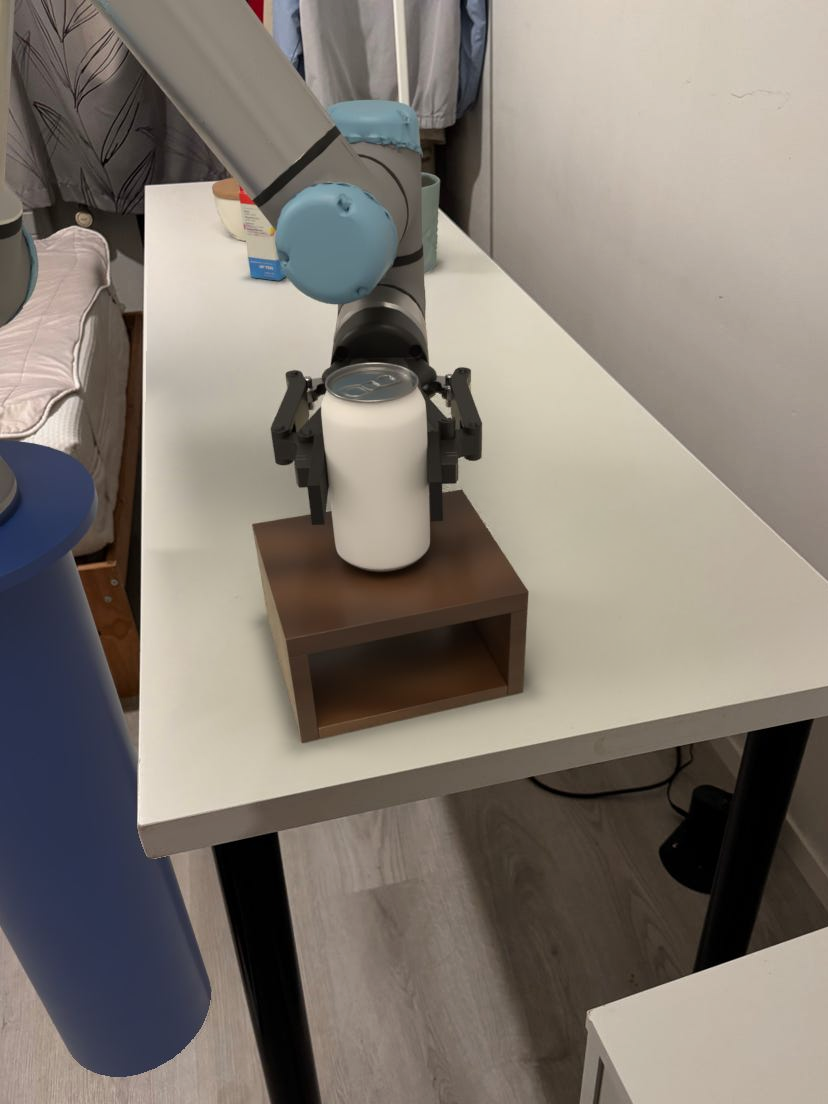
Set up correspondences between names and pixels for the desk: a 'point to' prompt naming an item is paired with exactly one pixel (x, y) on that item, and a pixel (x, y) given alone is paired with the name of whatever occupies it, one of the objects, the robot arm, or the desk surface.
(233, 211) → the trinket box
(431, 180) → the green embossed cup
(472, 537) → the shelf
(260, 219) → the ink box
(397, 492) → the can
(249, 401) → the desk surface
